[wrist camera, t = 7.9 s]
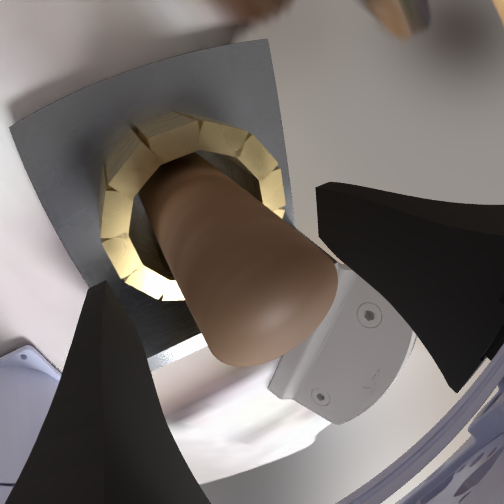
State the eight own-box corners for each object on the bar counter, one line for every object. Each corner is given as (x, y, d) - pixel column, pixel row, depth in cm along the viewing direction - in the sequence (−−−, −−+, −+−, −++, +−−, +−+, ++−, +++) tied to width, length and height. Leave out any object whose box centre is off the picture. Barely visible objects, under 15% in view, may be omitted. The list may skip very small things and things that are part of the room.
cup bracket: (114, 314, 17) (129, 381, 13) (15, 124, 9) (-25, 146, 6) (288, 233, 20) (337, 276, 16) (257, 40, 12) (322, 32, 9)
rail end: (158, 232, 14) (236, 383, 8) (125, 172, 12) (179, 310, 6) (220, 197, 15) (341, 315, 8) (195, 135, 13) (331, 219, 6)
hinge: (324, 252, 23) (440, 320, 17) (349, 242, 26) (447, 298, 21) (266, 391, 30) (340, 446, 25) (292, 371, 33) (360, 419, 28)
